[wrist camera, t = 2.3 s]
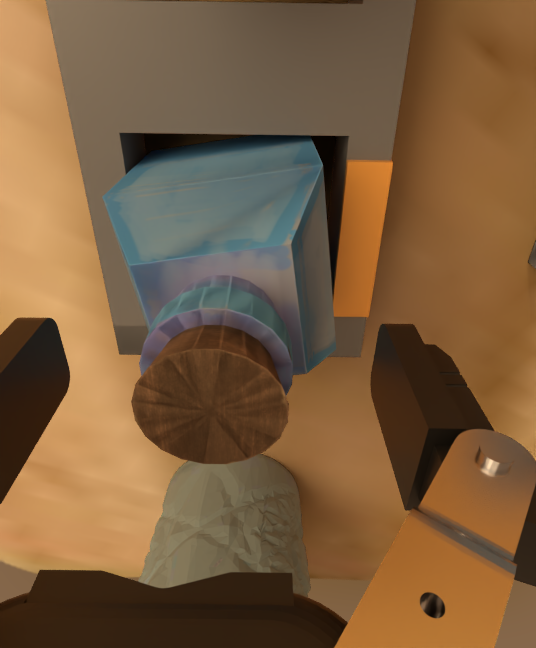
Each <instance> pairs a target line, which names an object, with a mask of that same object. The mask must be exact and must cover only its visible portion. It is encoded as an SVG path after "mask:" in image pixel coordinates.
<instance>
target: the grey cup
mask: <svg viewBox="0 0 536 648" xmlns="http://www.w3.org/2000/svg"><path fill="white" fill-rule="evenodd" d="M301 516H302V514H301V507H300V497H299V491H298V487H297V485H296V482H295V480H294V478H293V476H292V475H291V474H290V472H289V471H288V470H287V469H286V468H285V467H283V466H282V465H281V464H280V463H278V462H277V461H275V460H273V459H271V458H269V457H267V456H264V455H262V454H258V455H256V456H254V457H252V458H250V459H248V460H244V461H239V462H234V463H229V464H201V463H197V462H192V461H187V462H186V463H184V464H183V465H182V466H181V467H180V468H179V469H178V470H177V471H176V473H175V474H174V476H173V477H172V479H171V481H170V483H169V486H168V489H167V492H166V496H165V499H164V502H163V513H162V515H161V517H160V519H159V521H158V522H157V524H156V527H155V533H154V535H153V537H152V540H151V543H150V552H149V553H148V554H147V556H146V558H145V565H144V569H143V572H142V575H141V576H140V578H139V581H138V582H141V583H144V584H147V585H151V586H154V587H158V588H169V587H173V586H177V585H181V584H185V583H189V582H193V581H197V580H201V579H205V578H209V577H213V576H217V575H221V574H225V573H229V572H265V573H292V578H293V593H296V594H299V595H302V596H305V597H308V595H307V593H308V592H309V591H310V588H311V586H310V578H309V573H308V562H307V556H306V549H305V545H304V543H303V541H302V537H303V528H302V523H301Z"/></svg>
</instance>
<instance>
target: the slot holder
mask: <svg viewBox="0 0 536 648" xmlns="http://www.w3.org/2000/svg"><path fill="white" fill-rule="evenodd" d="M46 4H47V9H48V14H49V19H50V24H51V28H52V33H53V38H54V43H55V48H56V52H57V57H58V62H59V67H60V71H61V76H62V81H63V86H64V91H65V95H66V100H67V105H68V110H69V115H70V119H71V124H72V129H73V134H74V139H75V143H76V148H77V153H78V158H79V163H80V167H81V172H82V177H83V182H84V187H85V191H86V196H87V201H88V206H89V211H90V215H91V220H92V225H93V230H94V235H95V239H96V244H97V249H98V254H99V259H100V263H101V268H102V273H103V278H104V283H105V287H106V292H107V297H108V302H109V307H110V311H111V316H112V321H113V326H114V331H115V335H116V340H117V345H118V350H119V354H123V355H141V354H142V349H143V345H144V342H145V340H146V338H147V335H148V333H149V331H148V328H147V325H146V322H145V319H144V317H143V314H142V311H141V308H140V305H139V302H138V299H137V296H136V293H135V290H134V288H133V285H132V282H131V279H130V276H129V273H128V270H127V267H126V264H125V261H124V259H123V256H122V253H121V250H120V247H119V244H118V241H117V238H116V235H115V232H114V229H113V227H112V224H111V221H110V218H109V215H108V212H107V209H106V206H105V203H104V200H103V198H102V197H103V196H104V195H105V194H106V193H107V192H108V191H109V190H110V189H111V188H112V187H113V186H114V185H115V184H117V183H118V182H119V181H120V180H121V179H122V178H123V177H124V176H125V175H126V174H127V173H128V172H129V171H130V170H131V169H133V168H134V167H135V166H136V165H137V164H138V163H139V162H140V161H141V160H142V159H143V158H144V157H145V156H146V149H145V142H144V134H143V133H177V134H247V135H317V136H336V140H335V152H334V163H333V174H332V185H331V196H330V208H329V219H328V241H329V255H330V269H331V283H332V297H333V311H334V324H335V338H336V350H335V351H334V352H332V353H331V354H330V355H329V356H327V357H360V356H361V350H362V344H363V337H364V331H365V324H366V318H367V317H369V312H370V305H371V299H372V293H373V287H374V280H375V274H376V268H377V262H378V255H379V249H380V243H381V236H382V230H383V224H384V218H385V211H386V205H387V199H388V192H389V186H390V180H391V174H392V167H393V162H392V161H391V158H392V152H393V146H394V139H395V133H396V126H397V120H398V114H399V107H400V101H401V94H402V88H403V82H404V75H405V69H406V62H407V56H408V50H409V43H410V37H411V31H412V24H413V18H414V11H415V5H416V0H348V4H328V3H265V2H202V1H139V0H46Z"/></svg>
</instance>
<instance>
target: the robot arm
mask: <svg viewBox="0 0 536 648" xmlns="http://www.w3.org/2000/svg"><path fill="white" fill-rule="evenodd" d="M69 382H70V371H69V366H68V362H67V359H66V355H65V352H64V348H63V344H62V341H61V337H60V334H59V330H58V327H57V324H56V322H55V321H54V320H53V319H52V318H17V319H16V320H14V321H13V322H12V324H11V325H10V326H9V327H8V328H7V329H6V330H5V331H4V332H3V333H2V334H1V335H0V504H1V503H2V501H3V500H4V498H5V496H6V495H7V493H8V491H9V490H10V488H11V486H12V484H13V483H14V481H15V479H16V478H17V476H18V474H19V473H20V471H21V469H22V468H23V466H24V464H25V462H26V461H27V459H28V457H29V456H30V454H31V452H32V451H33V449H34V447H35V445H36V444H37V442H38V440H39V439H40V437H41V435H42V434H43V432H44V430H45V429H46V427H47V425H48V423H49V422H50V420H51V418H52V417H53V415H54V413H55V412H56V410H57V408H58V407H59V405H60V403H61V401H62V400H63V398H64V396H65V395H66V393H67V390H68V387H69ZM371 395H372V399H373V403H374V406H375V410H376V413H377V416H378V420H379V423H380V427H381V430H382V433H383V437H384V440H385V443H386V447H387V450H388V454H389V457H390V460H391V464H392V467H393V471H394V474H395V477H396V481H397V484H398V487H399V491H400V494H401V498H402V501H403V504H404V508H405V510H411V511H410V513H409V514H408V516H407V518H406V520H405V521H404V523H403V525H402V527H401V529H400V530H399V532H398V534H397V536H396V538H395V539H394V541H393V543H392V545H391V547H390V548H389V550H388V552H387V554H386V556H385V557H384V559H383V561H382V563H381V565H380V566H379V568H378V570H377V572H376V574H375V575H374V577H373V579H372V581H371V583H370V584H369V586H368V588H367V590H366V592H365V593H364V595H363V597H362V599H361V601H360V603H359V604H358V606H357V608H356V609H355V611H354V613H353V615H352V617H351V619H350V620H349V622H348V623H347V621H345V620H344V619H343V618H341V617H340V616H339V615H337V614H336V613H335V612H334V611H332V610H330V609H329V608H327V607H326V606H324V605H322V604H321V603H319V602H316V601H314V600H312V599H310V598H308V597H305V596H302V595H299V594H296V593H293V578H292V573H265V572H229V573H225V574H221V575H217V576H213V577H209V578H205V579H201V580H197V581H193V582H189V583H185V584H181V585H177V586H173V587H169V588H158V587H154V586H151V585H147V584H144V583H141V582H137V581H134V580H131V579H128V578H124V577H121V576H118V575H114V574H111V573H108V572H105V571H86V570H40V571H39V573H38V575H37V577H36V580H35V582H34V584H33V586H32V589H31V591H30V592H29V593H25V594H22V595H19V596H17V597H14V598H11V599H9V600H6V601H4V602H2V603H0V648H494V647H495V644H496V640H497V637H498V633H499V630H500V626H501V623H502V619H503V616H504V612H505V609H506V605H507V602H508V598H509V595H510V591H511V588H512V584H513V581H514V580H517V581H520V582H523V583H526V584H530V585H533V586H536V461H535V460H534V458H533V456H532V455H531V454H530V453H529V451H528V450H526V449H525V448H524V447H523V446H522V445H521V444H519V443H518V442H517V441H515V440H513V439H512V438H510V437H508V436H506V435H504V434H501V433H498V432H495V431H494V429H493V428H492V426H491V424H490V423H489V421H488V419H487V417H486V416H485V414H484V412H483V411H482V409H481V407H480V406H479V404H478V402H477V401H476V399H475V397H474V395H473V394H472V392H471V390H470V389H469V388H467V384H466V382H465V380H464V379H463V377H462V375H460V372H459V370H458V368H457V367H456V365H455V363H454V362H453V360H452V358H451V357H450V356H449V355H447V354H446V353H445V352H444V351H442V350H441V349H440V348H439V347H437V346H436V345H429V344H424V342H423V341H422V339H421V337H420V335H419V333H418V331H417V329H416V327H415V326H414V325H413V324H382V325H381V326H380V328H379V332H378V338H377V343H376V349H375V355H374V361H373V366H372V372H371Z"/></svg>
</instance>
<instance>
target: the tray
mask: <svg viewBox="0 0 536 648" xmlns="http://www.w3.org/2000/svg"><path fill="white" fill-rule="evenodd" d="M528 263H529V264H531V265H532V266H533V267H534V268H535V269H536V241H535V244H534V247H533V250H532V252H531V255H530V258H529V261H528Z"/></svg>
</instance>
